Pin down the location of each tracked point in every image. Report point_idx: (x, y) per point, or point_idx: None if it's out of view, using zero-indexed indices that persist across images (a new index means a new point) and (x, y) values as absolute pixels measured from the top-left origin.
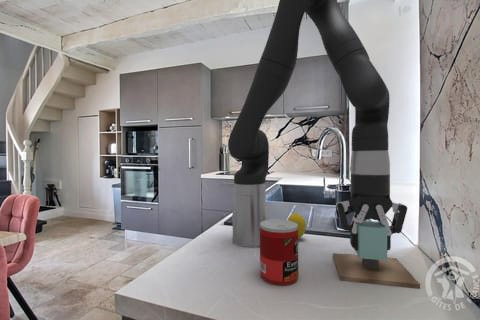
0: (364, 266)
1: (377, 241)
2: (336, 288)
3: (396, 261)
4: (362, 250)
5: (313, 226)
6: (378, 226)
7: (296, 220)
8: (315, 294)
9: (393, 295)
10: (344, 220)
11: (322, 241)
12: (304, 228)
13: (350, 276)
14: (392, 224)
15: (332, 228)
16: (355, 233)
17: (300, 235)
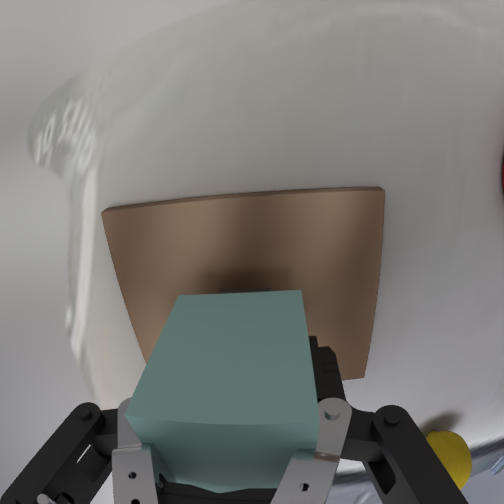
0: None
1: (202, 354)
2: (397, 120)
3: None
4: (289, 313)
5: (353, 497)
6: (177, 442)
7: (456, 471)
8: (457, 72)
9: (199, 123)
10: (411, 456)
11: None
12: None
13: (344, 197)
14: (109, 459)
15: None
16: (326, 400)
17: (430, 439)
